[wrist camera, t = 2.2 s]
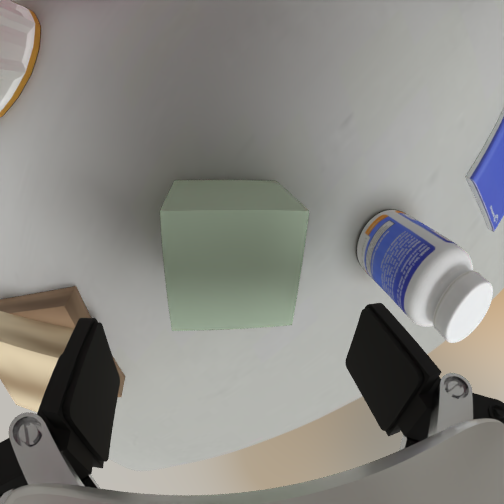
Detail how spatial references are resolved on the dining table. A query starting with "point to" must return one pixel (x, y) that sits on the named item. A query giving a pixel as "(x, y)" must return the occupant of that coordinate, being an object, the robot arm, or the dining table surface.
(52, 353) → the oak top block
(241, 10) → the dining table surface
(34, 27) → the cup
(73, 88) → the dining table surface
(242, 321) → the sage block
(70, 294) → the walnut base block
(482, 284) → the pill bottle
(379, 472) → the robot arm
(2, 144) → the dining table surface
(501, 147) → the hard drive
